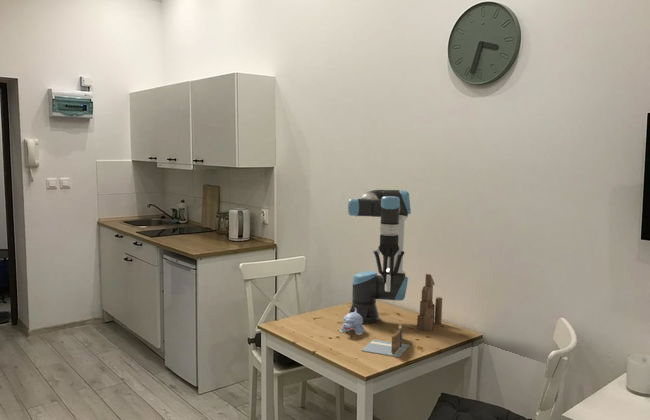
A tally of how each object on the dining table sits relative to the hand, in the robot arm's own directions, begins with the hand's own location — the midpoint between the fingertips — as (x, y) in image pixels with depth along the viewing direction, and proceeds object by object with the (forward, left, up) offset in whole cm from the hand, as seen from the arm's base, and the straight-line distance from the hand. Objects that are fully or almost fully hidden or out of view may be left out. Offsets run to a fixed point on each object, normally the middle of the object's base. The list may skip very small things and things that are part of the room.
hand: (387, 290), depth 221 cm
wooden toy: (+10, +40, -25) cm, 48 cm away
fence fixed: (+5, -1, -24) cm, 25 cm away
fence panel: (+3, +11, -24) cm, 26 cm away
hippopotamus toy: (-20, +14, -25) cm, 35 cm away
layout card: (0, 0, -24) cm, 24 cm away
